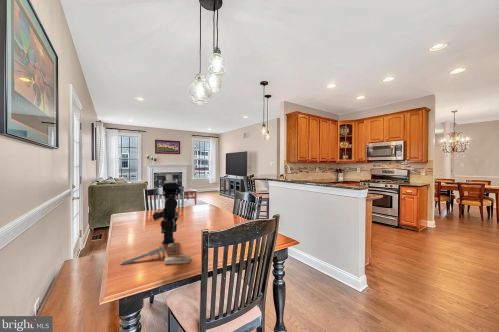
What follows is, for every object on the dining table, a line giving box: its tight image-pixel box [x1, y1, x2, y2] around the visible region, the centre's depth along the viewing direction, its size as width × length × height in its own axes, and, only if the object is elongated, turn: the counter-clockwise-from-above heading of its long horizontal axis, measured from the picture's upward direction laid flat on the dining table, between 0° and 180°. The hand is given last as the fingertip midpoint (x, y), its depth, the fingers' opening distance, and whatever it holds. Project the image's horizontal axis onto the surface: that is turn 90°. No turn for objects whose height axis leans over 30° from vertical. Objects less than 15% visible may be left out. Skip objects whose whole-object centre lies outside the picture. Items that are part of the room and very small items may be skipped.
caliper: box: [119, 244, 165, 266], centre depth 107 cm, size 20×1×6 cm, turn 120°
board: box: [164, 254, 192, 265], centre depth 106 cm, size 4×12×2 cm, turn 98°
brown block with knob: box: [166, 242, 179, 256], centre depth 112 cm, size 4×4×6 cm
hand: (170, 234), depth 111 cm, fingers open, 9 cm apart
